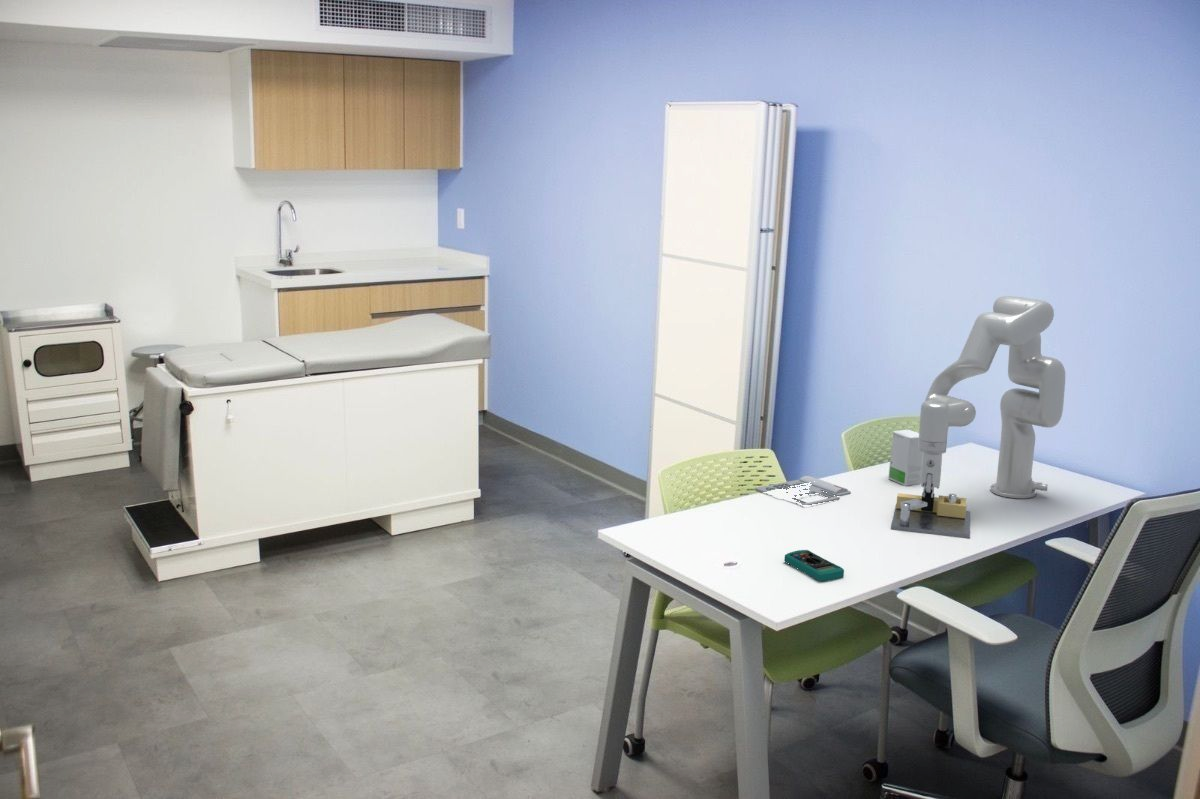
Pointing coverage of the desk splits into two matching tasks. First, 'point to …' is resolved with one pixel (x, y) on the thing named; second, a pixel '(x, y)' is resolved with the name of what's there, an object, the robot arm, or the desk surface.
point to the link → (939, 505)
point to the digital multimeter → (814, 565)
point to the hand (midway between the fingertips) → (927, 508)
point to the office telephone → (814, 488)
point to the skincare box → (905, 458)
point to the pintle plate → (929, 520)
